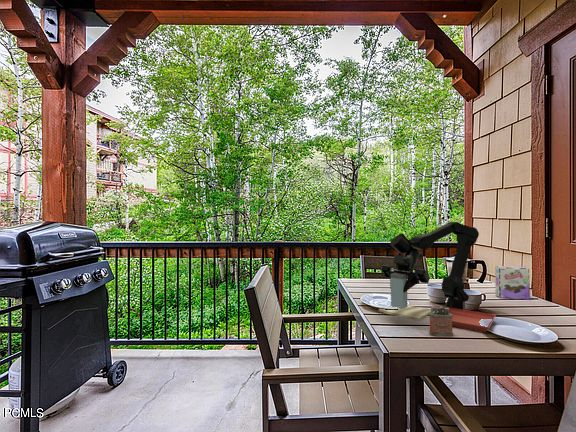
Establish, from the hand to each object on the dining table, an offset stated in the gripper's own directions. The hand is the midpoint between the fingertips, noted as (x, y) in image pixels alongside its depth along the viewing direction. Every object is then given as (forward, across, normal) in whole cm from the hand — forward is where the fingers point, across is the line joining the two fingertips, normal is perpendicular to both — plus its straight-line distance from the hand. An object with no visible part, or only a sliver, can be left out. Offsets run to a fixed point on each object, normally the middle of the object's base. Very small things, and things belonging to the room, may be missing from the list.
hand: (397, 290), depth 122 cm
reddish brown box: (+9, +16, +10) cm, 21 cm away
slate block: (+4, 0, +6) cm, 7 cm away
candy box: (-48, +22, +68) cm, 86 cm away
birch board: (-3, -6, +22) cm, 23 cm away
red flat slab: (-5, +18, +25) cm, 31 cm away
